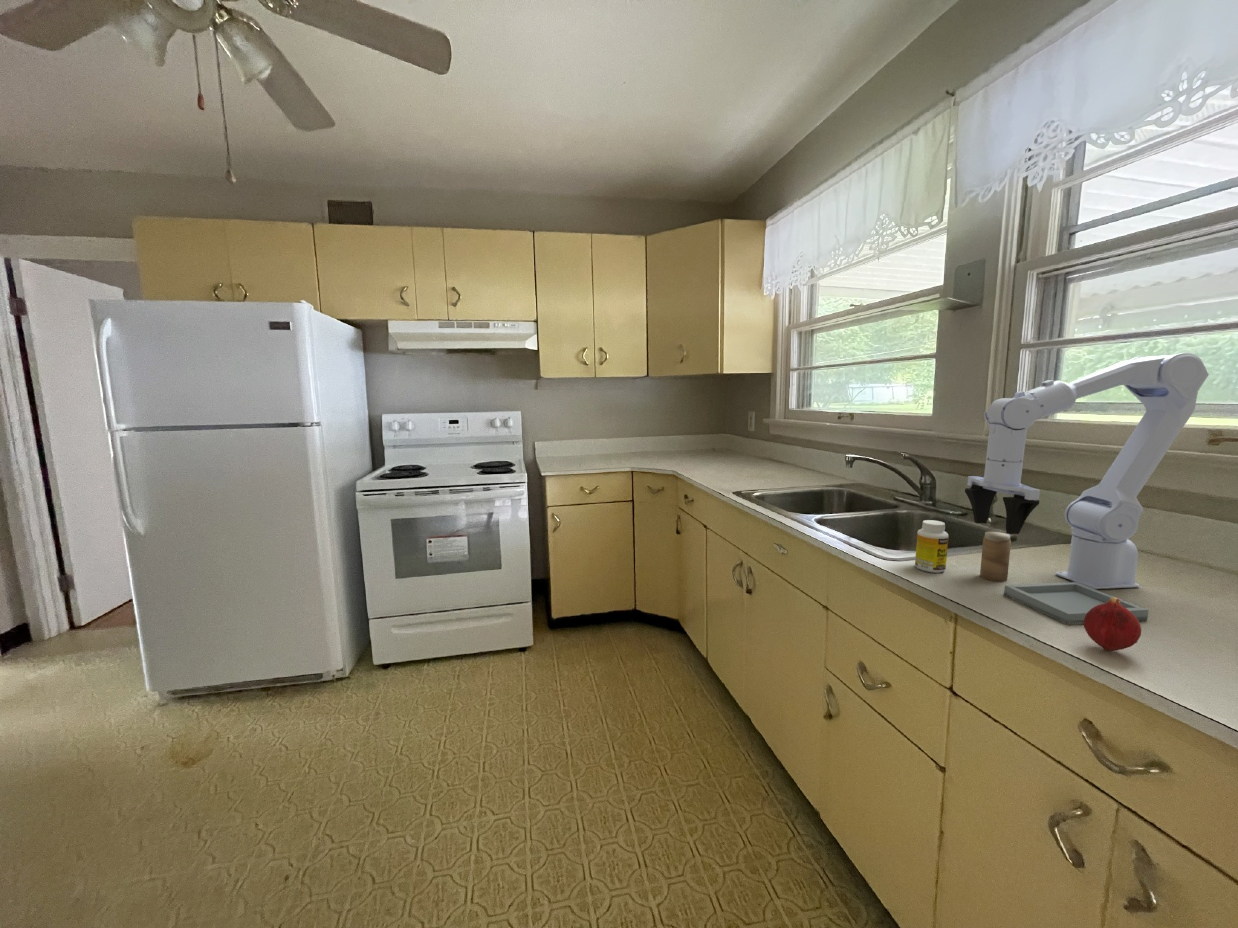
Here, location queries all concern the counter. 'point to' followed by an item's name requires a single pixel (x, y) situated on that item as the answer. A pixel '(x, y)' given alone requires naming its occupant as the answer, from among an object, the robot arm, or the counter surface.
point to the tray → (1066, 600)
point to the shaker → (995, 556)
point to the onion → (1112, 626)
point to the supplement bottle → (932, 547)
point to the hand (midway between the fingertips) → (996, 528)
